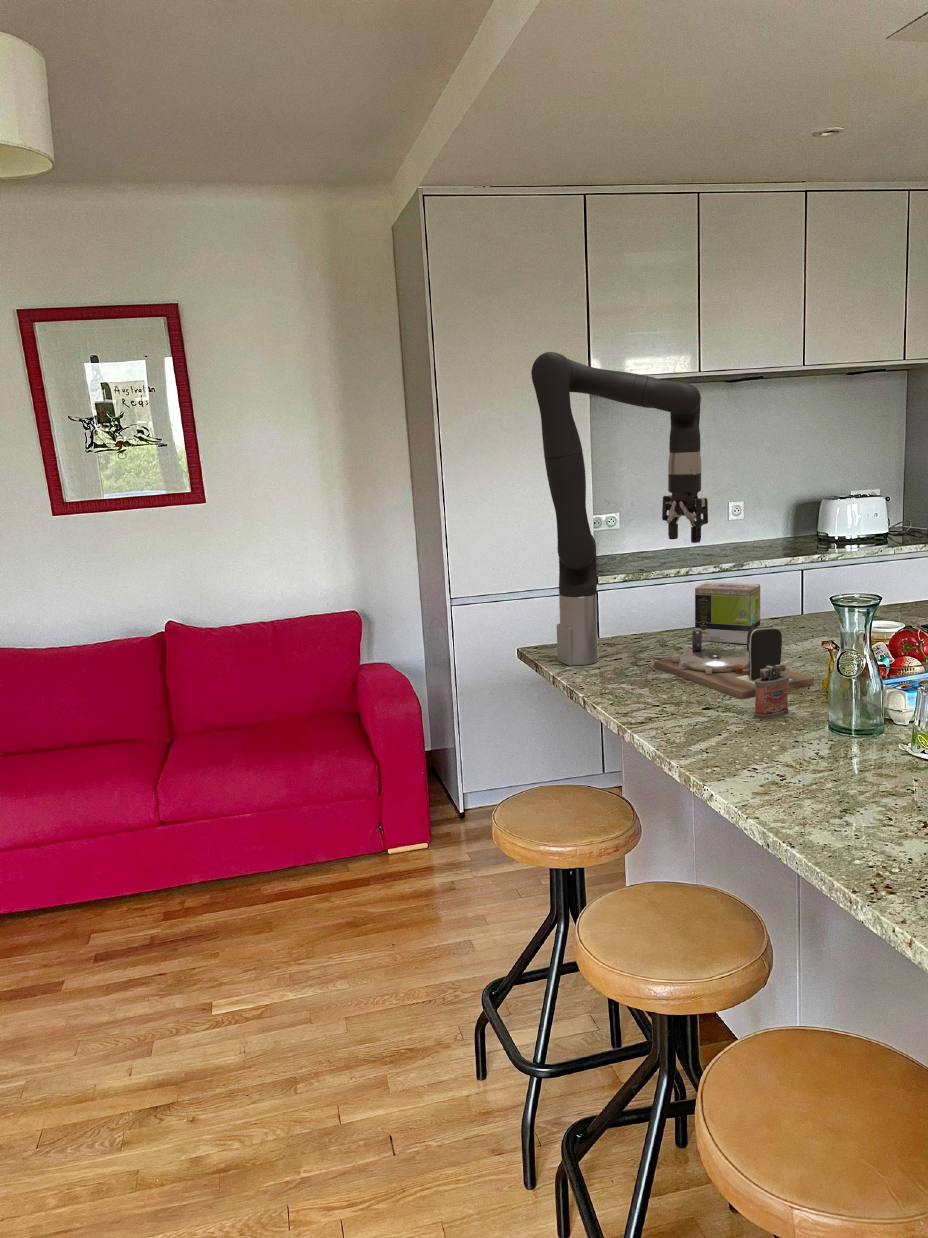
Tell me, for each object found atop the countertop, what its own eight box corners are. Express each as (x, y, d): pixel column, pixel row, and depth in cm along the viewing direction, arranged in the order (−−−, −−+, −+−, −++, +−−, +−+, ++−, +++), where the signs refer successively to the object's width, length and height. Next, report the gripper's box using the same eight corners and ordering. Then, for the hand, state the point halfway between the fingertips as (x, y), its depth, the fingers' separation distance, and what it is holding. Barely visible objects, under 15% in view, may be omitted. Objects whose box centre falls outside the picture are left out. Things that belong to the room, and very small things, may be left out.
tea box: (760, 637, 244) (761, 583, 240) (750, 645, 235) (751, 589, 232) (705, 633, 252) (706, 580, 248) (693, 640, 243) (694, 586, 240)
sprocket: (706, 678, 201) (706, 650, 200) (656, 660, 219) (656, 633, 217) (775, 666, 208) (775, 639, 207) (722, 649, 226) (722, 624, 224)
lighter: (762, 720, 177) (763, 671, 175) (749, 716, 180) (750, 667, 178) (792, 713, 181) (793, 664, 179) (779, 708, 184) (780, 661, 182)
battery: (774, 674, 201) (775, 624, 199) (781, 679, 197) (783, 628, 195) (743, 677, 200) (744, 626, 198) (751, 681, 197) (752, 630, 194)
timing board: (741, 699, 191) (741, 687, 190) (654, 667, 219) (654, 657, 218) (813, 684, 199) (814, 673, 198) (720, 655, 227) (720, 645, 226)
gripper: (653, 472, 216) (653, 539, 220) (690, 473, 204) (690, 545, 207) (679, 470, 219) (678, 536, 223) (717, 471, 207) (716, 542, 210)
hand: (684, 540), depth 215 cm, fingers open, 8 cm apart
